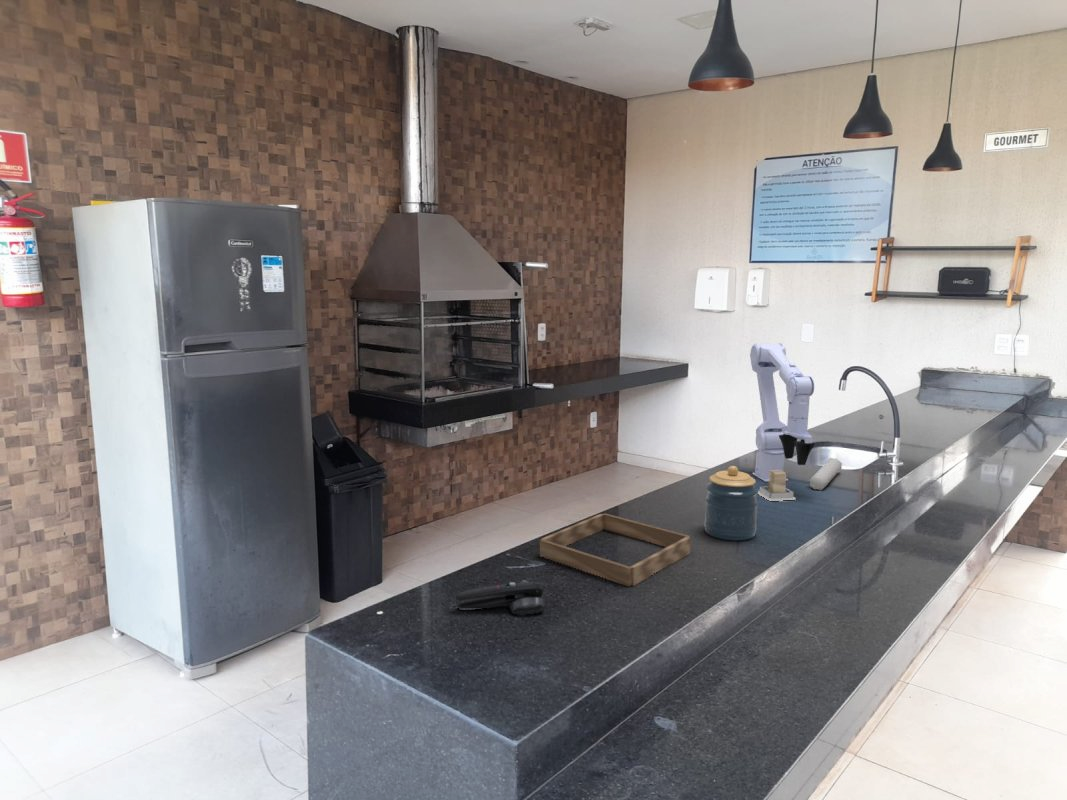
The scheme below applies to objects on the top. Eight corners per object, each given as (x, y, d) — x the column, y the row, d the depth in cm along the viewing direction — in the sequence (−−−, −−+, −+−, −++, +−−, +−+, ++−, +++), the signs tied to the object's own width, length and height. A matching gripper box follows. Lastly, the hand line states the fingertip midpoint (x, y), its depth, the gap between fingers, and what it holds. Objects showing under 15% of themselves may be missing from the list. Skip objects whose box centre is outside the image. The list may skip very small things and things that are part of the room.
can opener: (544, 601, 150) (544, 575, 149) (545, 617, 143) (546, 590, 142) (457, 602, 149) (456, 576, 148) (454, 618, 142) (454, 591, 141)
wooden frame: (602, 527, 192) (603, 512, 191) (691, 552, 175) (692, 536, 175) (538, 556, 173) (538, 539, 172) (631, 587, 156) (631, 569, 155)
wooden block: (768, 493, 220) (769, 470, 218) (779, 492, 220) (780, 469, 219) (773, 496, 216) (775, 473, 215) (784, 496, 217) (786, 473, 215)
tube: (828, 480, 222) (844, 462, 243) (811, 472, 225) (828, 455, 245) (821, 495, 224) (838, 476, 245) (804, 487, 227) (822, 468, 247)
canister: (700, 537, 185) (703, 470, 182) (707, 521, 197) (710, 457, 194) (754, 544, 181) (758, 475, 178) (757, 527, 193) (761, 462, 190)
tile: (757, 493, 222) (757, 491, 221) (782, 492, 223) (782, 490, 223) (769, 501, 214) (769, 499, 214) (795, 500, 215) (795, 498, 215)
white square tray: (758, 491, 221) (758, 486, 221) (781, 490, 222) (782, 485, 222) (770, 499, 214) (770, 494, 214) (794, 497, 215) (794, 492, 215)
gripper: (773, 412, 225) (771, 455, 227) (797, 422, 210) (794, 468, 213) (795, 412, 226) (792, 455, 228) (820, 421, 212) (817, 467, 214)
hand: (794, 461), depth 221 cm, fingers open, 7 cm apart
